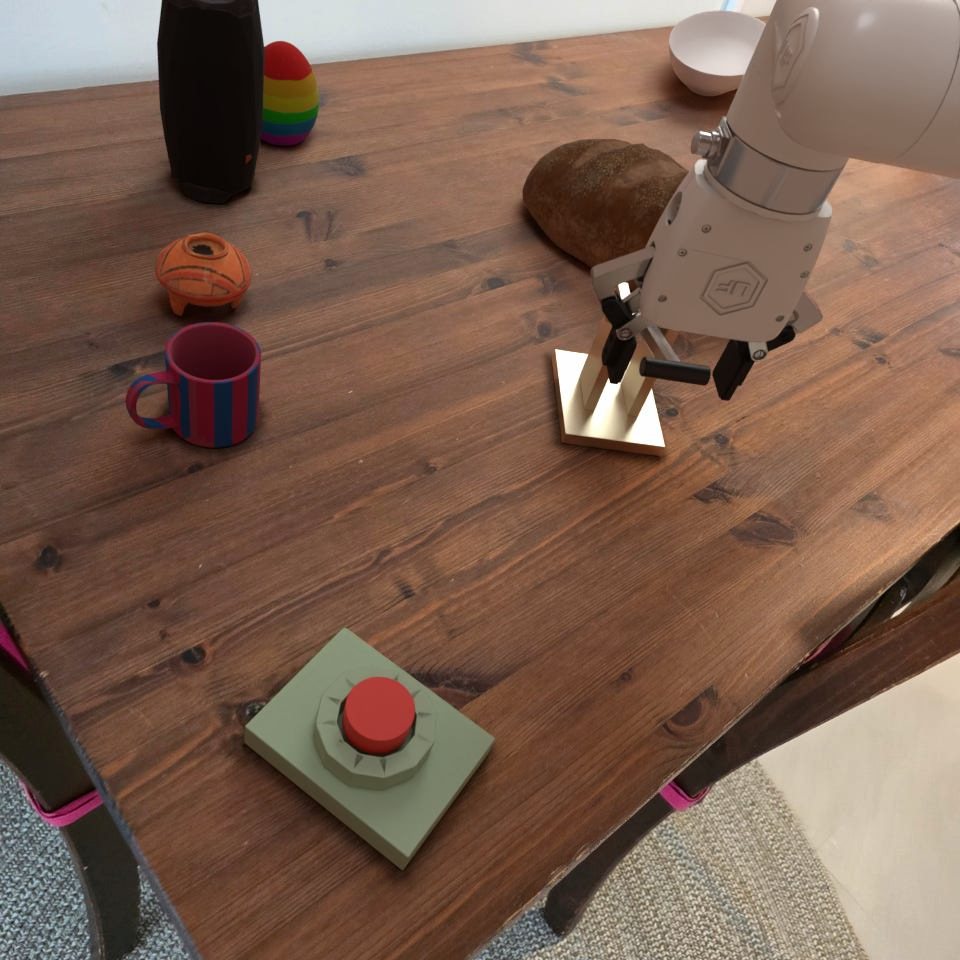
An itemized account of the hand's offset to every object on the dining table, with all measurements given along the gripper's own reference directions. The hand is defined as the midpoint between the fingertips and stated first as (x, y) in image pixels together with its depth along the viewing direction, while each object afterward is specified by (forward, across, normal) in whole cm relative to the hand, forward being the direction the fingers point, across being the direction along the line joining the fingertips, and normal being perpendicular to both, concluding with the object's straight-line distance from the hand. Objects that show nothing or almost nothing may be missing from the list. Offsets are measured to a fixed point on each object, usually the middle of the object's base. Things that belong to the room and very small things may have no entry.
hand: (666, 378), depth 66 cm
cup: (+12, -34, 0) cm, 36 cm away
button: (+8, -19, -25) cm, 33 cm away
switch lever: (+1, 0, +4) cm, 4 cm away
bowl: (+12, +26, +86) cm, 91 cm away
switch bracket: (+11, 0, +9) cm, 15 cm away
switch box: (+11, -19, -25) cm, 34 cm away
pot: (+12, -36, +15) cm, 41 cm away
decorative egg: (+12, -34, +46) cm, 58 cm away
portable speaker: (+12, -39, +34) cm, 53 cm away
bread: (+12, +7, +34) cm, 36 cm away
